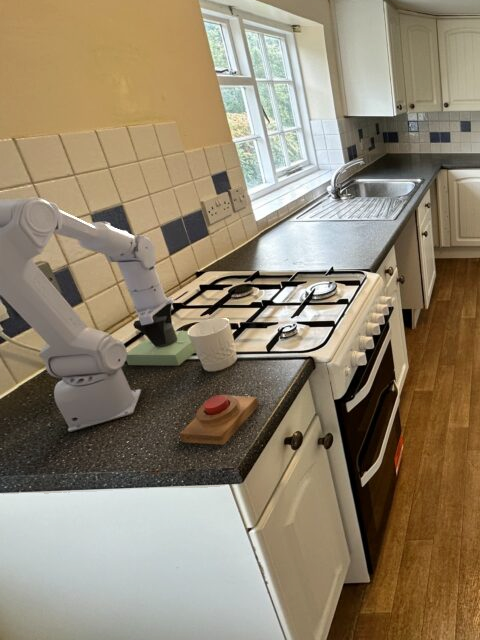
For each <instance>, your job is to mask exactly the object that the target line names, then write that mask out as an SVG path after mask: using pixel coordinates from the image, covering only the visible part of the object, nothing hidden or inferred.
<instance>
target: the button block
mask: <svg viewBox="0 0 480 640" xmlns="http://www.w3.org/2000/svg"><path fill="white" fill-rule="evenodd" d="M224 395H225V396H226V397H227V400H228V403H229V407H228V408H227V409H226V410H224V411H222V412H220V413H218V414H215V415H208V414H207V413H206V410H205V408H204V404H205V402H204V403H203V404H201V406H200V407H199V408H197V410H196V414H195V418H194V419H193V420H192V421H190V423H188V424H187V426H185V427H184V428H183V429H182V430H181V431H180V432H179V436H180V439H181V441H182V442H183V443H185V444H186V443H187V444H205V445H220V446H221V445H223V446H224V445H225V444H226V443H227V442H228V441H229V440H230V439H231V438H232V436H233V435H234V434H236V432H237V431H238V430H239V429H240V427H242V425H243V424H244V423H245V422H246V421H247V419H249V418H250V416H252V414H253V413H254V412H255V411H256V409H257V408H258V407H259V406H260V405H259V401H258V398H257V396H241V395H230V394H224Z"/></svg>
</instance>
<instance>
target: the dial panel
mask: <svg viewBox="0 0 480 640" xmlns="http://www.w3.org/2000/svg"><path fill="white" fill-rule="evenodd" d="M187 331H188V330H175V333H176V336H177V341H176V342H175V343H173V344H171V345H168V346H165V347H155V345H154V344H153V343H152V342H151V341H150V340H149V339H148V337H146V338H145V339H144V340H143V341H141V342H140V343H138V344H137V345H136V346H134V347H133V348H131V349H130V350H128V351H127V357H126V361H125V362H126V363H127V365H128V366H180V365H182V364H183V363H184V362H185V361H186V360H187V359H189V358H190V357H191V356H192V355H193V354H196V352H195V350H194V347H193V345H192V343H191V340H190V338H189V336H188V333H187Z"/></svg>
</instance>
